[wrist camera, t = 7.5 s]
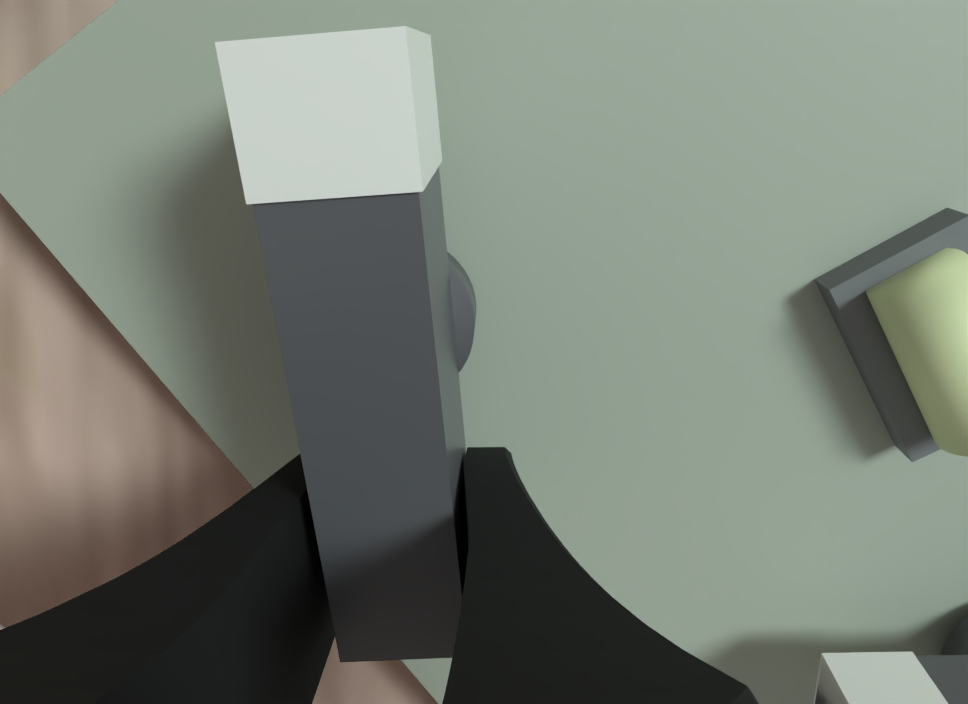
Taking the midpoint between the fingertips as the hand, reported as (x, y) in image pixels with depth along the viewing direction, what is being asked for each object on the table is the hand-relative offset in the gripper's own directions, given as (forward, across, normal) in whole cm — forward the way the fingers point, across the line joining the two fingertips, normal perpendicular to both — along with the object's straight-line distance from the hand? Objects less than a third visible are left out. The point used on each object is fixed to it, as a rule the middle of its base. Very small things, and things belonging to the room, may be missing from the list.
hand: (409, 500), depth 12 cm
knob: (+1, 0, -3) cm, 3 cm away
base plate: (+3, -5, +1) cm, 6 cm away
